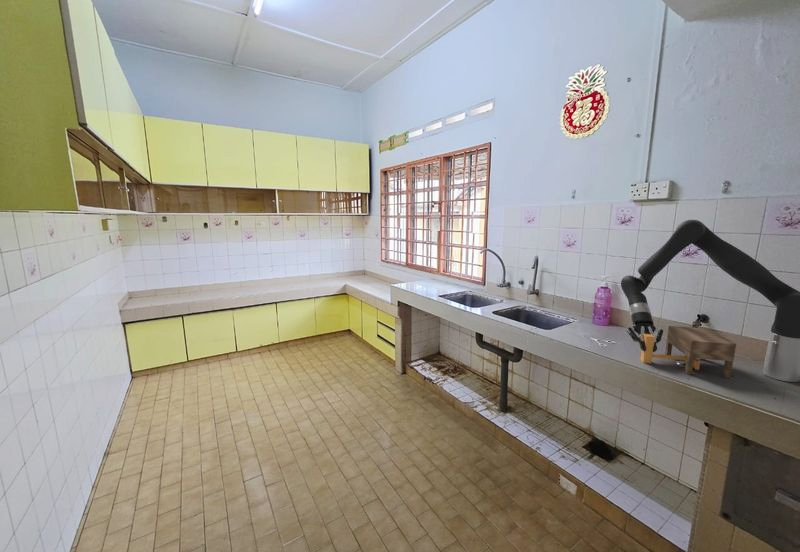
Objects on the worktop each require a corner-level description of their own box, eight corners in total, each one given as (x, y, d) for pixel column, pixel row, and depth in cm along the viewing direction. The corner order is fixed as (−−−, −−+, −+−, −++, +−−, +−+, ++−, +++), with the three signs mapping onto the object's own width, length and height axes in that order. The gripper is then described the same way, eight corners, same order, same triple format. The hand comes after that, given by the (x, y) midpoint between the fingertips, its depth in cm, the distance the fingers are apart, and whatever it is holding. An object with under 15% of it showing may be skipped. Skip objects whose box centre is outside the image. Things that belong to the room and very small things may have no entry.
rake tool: (688, 361, 142) (692, 335, 139) (699, 369, 134) (703, 342, 132) (638, 357, 147) (641, 331, 144) (645, 365, 139) (649, 338, 137)
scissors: (607, 347, 157) (569, 334, 174) (607, 349, 157) (568, 336, 174) (620, 343, 162) (581, 330, 179) (620, 344, 162) (581, 332, 179)
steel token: (686, 363, 141) (686, 361, 140) (693, 368, 136) (693, 366, 136) (672, 362, 142) (673, 360, 142) (679, 367, 137) (679, 365, 137)
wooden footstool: (702, 358, 144) (707, 328, 142) (730, 378, 127) (736, 344, 125) (664, 355, 148) (668, 325, 145) (686, 374, 131) (691, 341, 128)
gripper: (625, 310, 148) (633, 346, 138) (662, 311, 144) (673, 349, 135) (620, 317, 154) (627, 352, 144) (655, 319, 150) (665, 355, 141)
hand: (649, 350), depth 140 cm, fingers closed on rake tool, 3 cm apart
